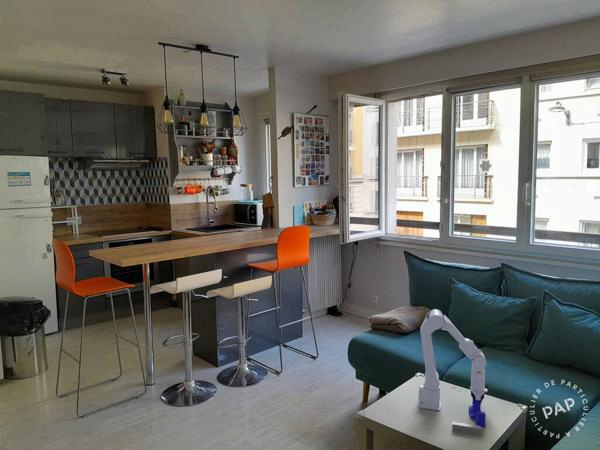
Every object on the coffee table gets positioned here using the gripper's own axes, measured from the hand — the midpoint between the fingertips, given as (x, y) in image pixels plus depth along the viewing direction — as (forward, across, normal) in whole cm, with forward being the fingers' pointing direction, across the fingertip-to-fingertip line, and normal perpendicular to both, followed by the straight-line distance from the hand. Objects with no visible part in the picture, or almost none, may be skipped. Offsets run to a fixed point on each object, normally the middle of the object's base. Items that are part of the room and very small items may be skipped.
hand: (477, 408), depth 203 cm
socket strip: (+1, -20, +5) cm, 20 cm away
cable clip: (+1, -8, 0) cm, 8 cm away
